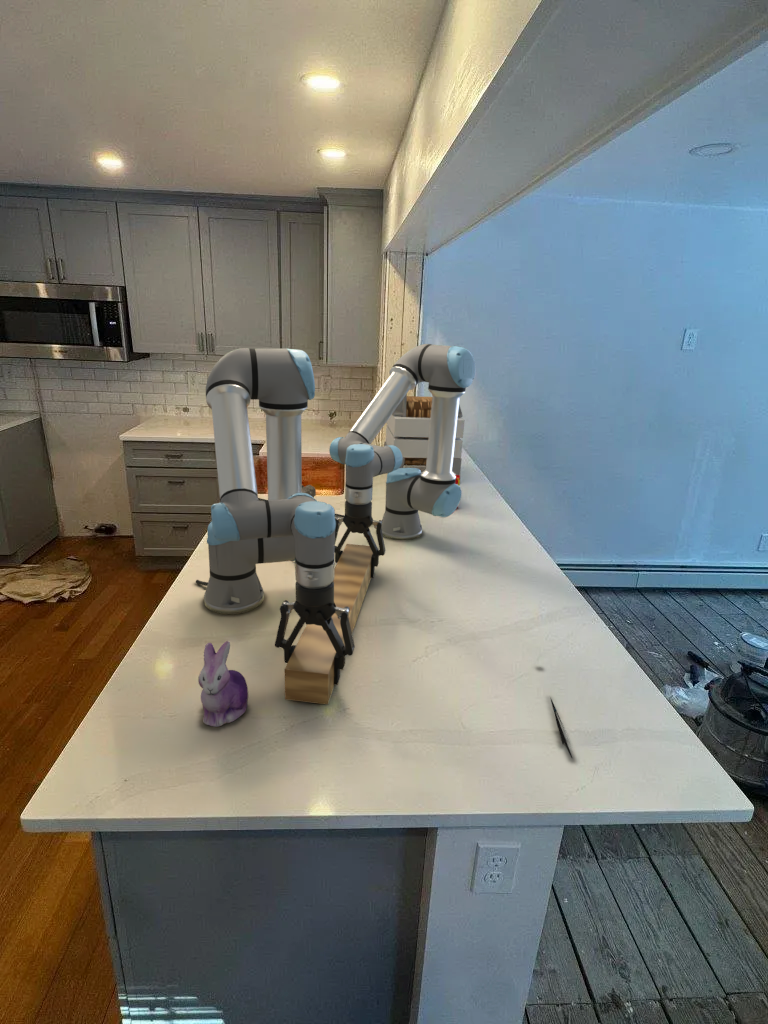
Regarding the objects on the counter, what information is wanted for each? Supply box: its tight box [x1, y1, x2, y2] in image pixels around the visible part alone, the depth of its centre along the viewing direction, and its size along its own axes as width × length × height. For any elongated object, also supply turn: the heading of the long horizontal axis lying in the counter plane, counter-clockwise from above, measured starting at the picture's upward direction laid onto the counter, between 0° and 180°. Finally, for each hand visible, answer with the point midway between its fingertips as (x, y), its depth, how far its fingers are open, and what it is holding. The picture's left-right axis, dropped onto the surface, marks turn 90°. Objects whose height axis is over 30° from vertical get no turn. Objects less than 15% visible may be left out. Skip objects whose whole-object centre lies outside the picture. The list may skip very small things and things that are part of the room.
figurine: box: [198, 640, 249, 728], centre depth 107 cm, size 9×10×15 cm
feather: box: [539, 666, 573, 758], centre depth 114 cm, size 2×28×2 cm
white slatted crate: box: [383, 393, 465, 476], centre depth 268 cm, size 34×33×41 cm
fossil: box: [302, 484, 317, 499], centre depth 215 cm, size 22×10×15 cm
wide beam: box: [284, 543, 373, 705], centre depth 140 cm, size 64×9×7 cm, turn 173°
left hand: (314, 678), depth 118 cm, fingers closed on wide beam, 9 cm apart
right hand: (356, 574), depth 165 cm, fingers closed on wide beam, 9 cm apart
